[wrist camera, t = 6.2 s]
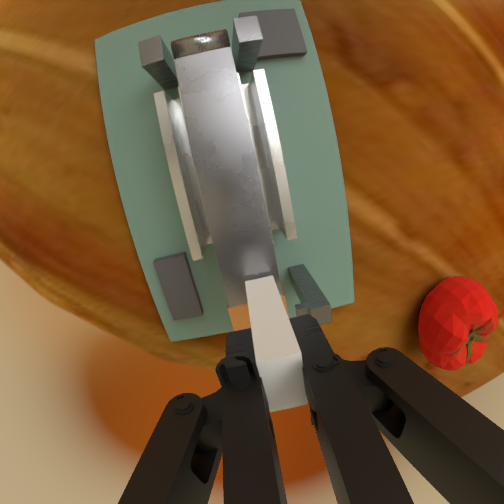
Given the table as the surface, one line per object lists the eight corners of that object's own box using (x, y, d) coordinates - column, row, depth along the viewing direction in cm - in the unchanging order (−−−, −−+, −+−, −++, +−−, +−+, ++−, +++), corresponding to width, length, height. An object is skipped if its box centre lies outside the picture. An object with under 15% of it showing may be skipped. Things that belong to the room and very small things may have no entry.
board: (100, 44, 15) (90, 36, 14) (294, 0, 16) (300, -11, 14) (172, 334, 24) (169, 347, 22) (349, 296, 24) (357, 306, 22)
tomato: (443, 253, 24) (492, 283, 17) (474, 290, 26) (513, 319, 19) (389, 327, 26) (426, 372, 19) (428, 351, 28) (460, 389, 21)
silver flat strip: (172, 48, 12) (167, 37, 11) (227, 35, 12) (227, 24, 11) (239, 341, 17) (239, 354, 16) (289, 331, 17) (293, 342, 16)
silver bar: (156, 72, 16) (127, 40, 10) (261, 50, 16) (275, 9, 10) (210, 298, 22) (204, 349, 16) (305, 277, 22) (331, 321, 16)
